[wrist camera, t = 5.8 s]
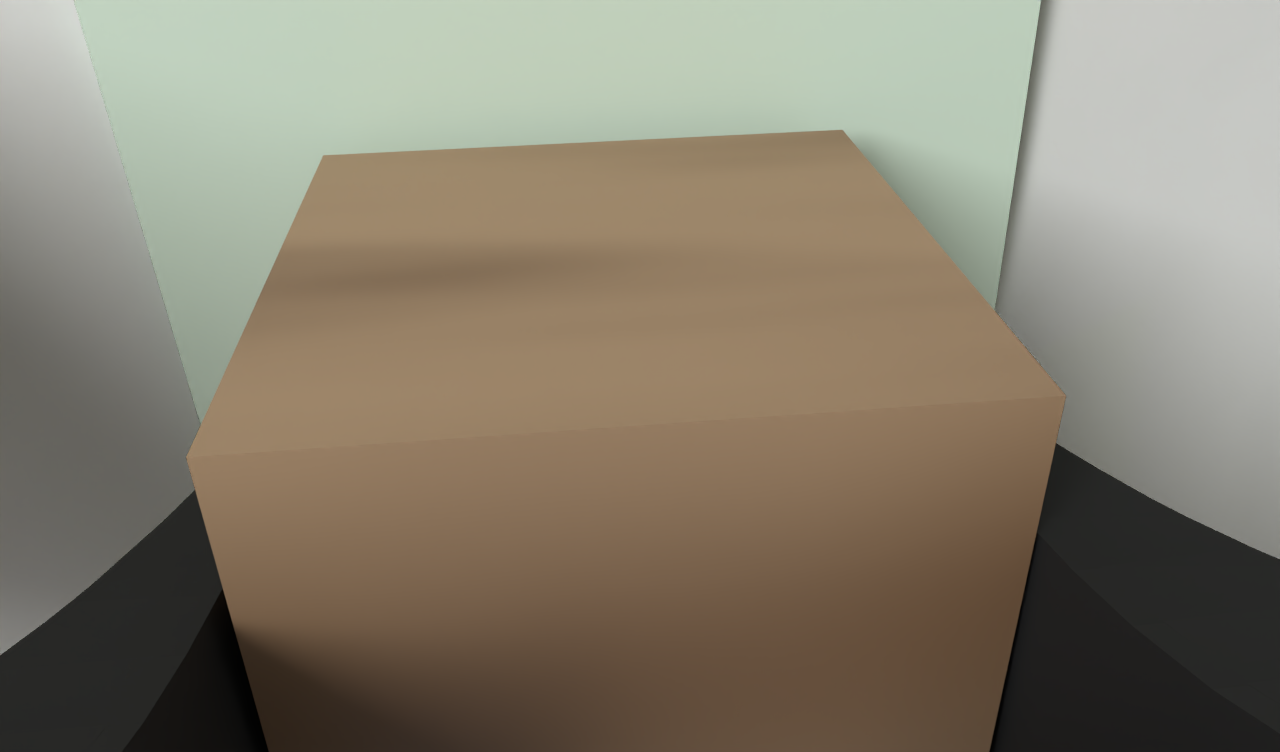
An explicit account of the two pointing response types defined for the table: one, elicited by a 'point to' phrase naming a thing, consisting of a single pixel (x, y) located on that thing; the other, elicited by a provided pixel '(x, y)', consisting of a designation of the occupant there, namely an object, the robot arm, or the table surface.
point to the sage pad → (531, 108)
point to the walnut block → (623, 458)
